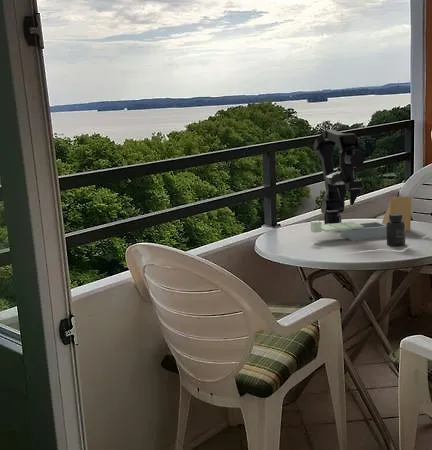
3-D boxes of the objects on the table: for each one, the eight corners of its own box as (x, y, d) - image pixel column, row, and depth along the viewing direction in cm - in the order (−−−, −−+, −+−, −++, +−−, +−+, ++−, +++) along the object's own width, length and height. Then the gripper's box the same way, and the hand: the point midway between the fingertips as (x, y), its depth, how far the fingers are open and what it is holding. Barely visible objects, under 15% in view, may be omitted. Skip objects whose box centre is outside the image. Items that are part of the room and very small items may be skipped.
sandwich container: (399, 225, 277) (399, 191, 274) (411, 232, 262) (411, 196, 259) (379, 226, 277) (379, 192, 274) (390, 234, 262) (390, 197, 259)
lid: (317, 234, 246) (317, 224, 245) (307, 229, 255) (307, 219, 255) (363, 229, 251) (363, 219, 250) (352, 225, 260) (351, 215, 259)
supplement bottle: (405, 244, 243) (406, 212, 240) (404, 248, 236) (405, 216, 234) (387, 243, 245) (387, 212, 243) (385, 247, 238) (385, 216, 236)
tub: (352, 242, 250) (351, 230, 249) (340, 237, 260) (340, 225, 259) (389, 238, 254) (389, 226, 253) (376, 233, 264) (376, 221, 263)
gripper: (319, 164, 267) (319, 201, 270) (337, 168, 249) (337, 208, 252) (344, 162, 269) (344, 199, 273) (364, 166, 252) (364, 206, 255)
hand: (346, 203), depth 263 cm, fingers open, 9 cm apart
